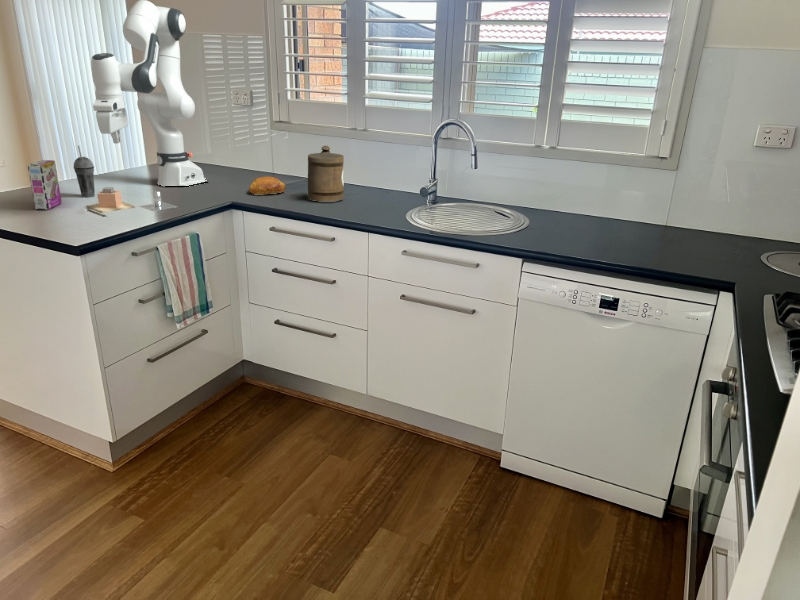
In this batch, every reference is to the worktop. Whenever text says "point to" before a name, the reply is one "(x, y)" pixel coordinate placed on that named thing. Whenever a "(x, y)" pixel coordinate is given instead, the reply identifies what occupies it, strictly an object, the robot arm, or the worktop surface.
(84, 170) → the beverage cup
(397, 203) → the worktop surface
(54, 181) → the candy bar box
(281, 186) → the croissant
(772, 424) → the worktop surface
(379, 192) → the worktop surface
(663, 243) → the worktop surface
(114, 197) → the collar
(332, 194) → the wooden container
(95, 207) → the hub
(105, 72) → the robot arm
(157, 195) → the rod stand
